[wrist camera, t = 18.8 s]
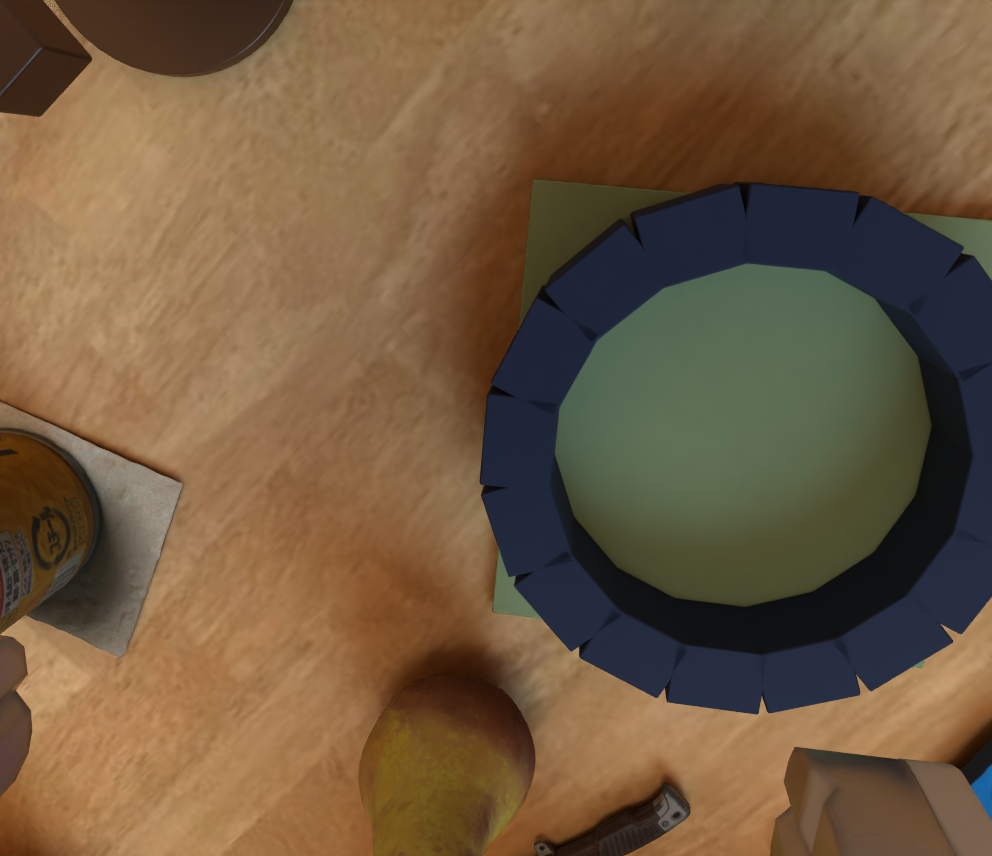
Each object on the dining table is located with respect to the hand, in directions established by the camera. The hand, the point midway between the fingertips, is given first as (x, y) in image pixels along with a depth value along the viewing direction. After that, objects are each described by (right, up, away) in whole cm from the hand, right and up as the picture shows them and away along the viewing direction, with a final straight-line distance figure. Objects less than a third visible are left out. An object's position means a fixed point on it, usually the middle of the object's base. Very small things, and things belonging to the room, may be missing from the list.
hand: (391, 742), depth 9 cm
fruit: (0, -7, +22) cm, 23 cm away
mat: (+9, +3, +18) cm, 20 cm away
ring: (+9, +3, +18) cm, 20 cm away
